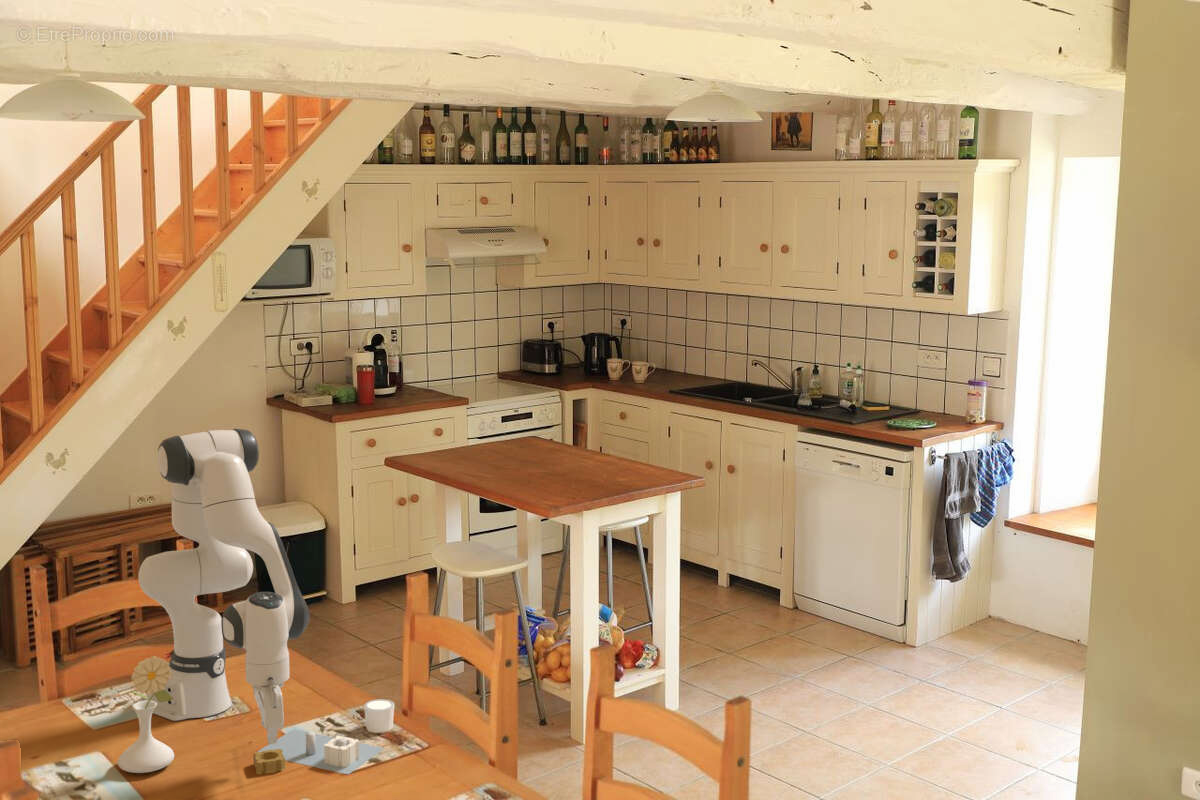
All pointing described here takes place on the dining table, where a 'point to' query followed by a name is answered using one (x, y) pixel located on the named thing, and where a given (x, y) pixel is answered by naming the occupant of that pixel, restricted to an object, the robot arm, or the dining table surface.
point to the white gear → (341, 752)
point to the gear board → (317, 750)
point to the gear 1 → (269, 761)
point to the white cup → (379, 715)
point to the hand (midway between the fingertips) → (269, 734)
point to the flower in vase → (148, 718)
